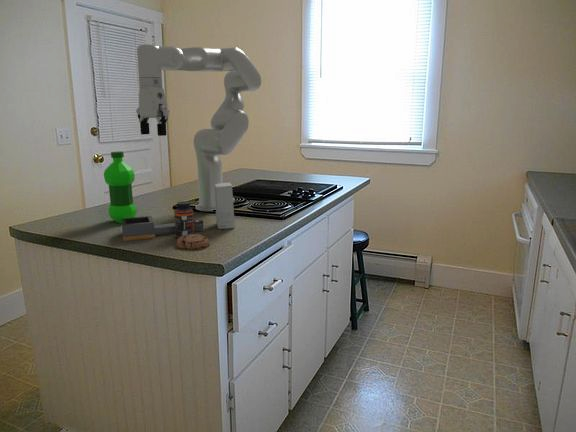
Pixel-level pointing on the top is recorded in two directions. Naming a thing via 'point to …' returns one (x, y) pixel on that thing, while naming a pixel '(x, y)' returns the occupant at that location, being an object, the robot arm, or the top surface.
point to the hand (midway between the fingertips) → (153, 134)
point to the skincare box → (224, 205)
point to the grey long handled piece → (149, 228)
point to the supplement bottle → (184, 219)
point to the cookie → (193, 242)
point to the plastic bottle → (120, 188)
